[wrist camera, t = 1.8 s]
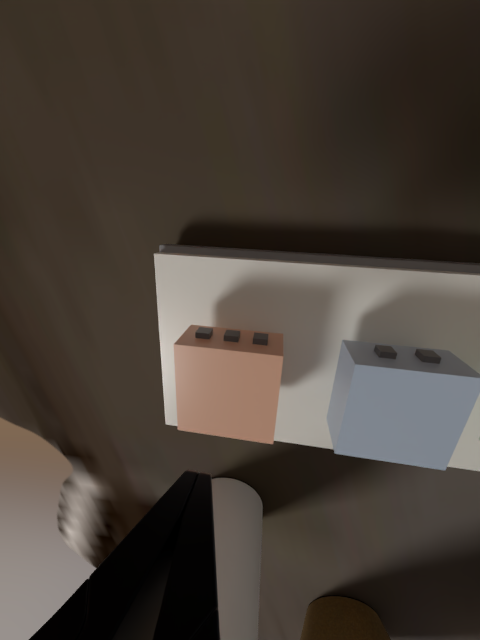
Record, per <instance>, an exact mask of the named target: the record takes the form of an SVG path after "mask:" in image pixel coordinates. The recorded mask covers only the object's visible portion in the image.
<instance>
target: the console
mask: <svg viewBox="0 0 480 640" xmlns="http://www.w3.org/2000/svg"><path fill="white" fill-rule="evenodd" d="M159 248H160V252H159V253H155V254H154V261H155V276H156V290H157V305H158V319H159V334H160V348H161V363H162V378H163V392H164V407H165V421H166V424H167V425H174V426H178V424H177V404H176V383H175V363H174V343H175V342H176V341H177V340H178V339H179V338H180V337H181V335H182V334H183V333H184V332H185V331H186V330H187V329H188V327H189V326H190V325H200V326H210V327H220V328H230V329H240V330H250V331H260V332H270V333H280V334H283V355H284V357H283V365H282V373H281V382H280V390H279V399H278V407H277V416H276V424H275V432H274V441H281V442H288V443H294V444H301V445H308V446H314V447H321V448H328V449H333V445H332V440H331V436H330V432H329V427H328V423H327V419H326V418H327V413H328V408H329V403H330V398H331V393H332V388H333V383H334V379H335V374H336V369H337V364H338V359H339V354H340V349H341V344H342V340H350V341H360V342H370V343H380V344H390V345H400V346H410V347H420V348H430V349H440V350H449V351H450V352H451V353H453V354H454V355H455V356H457V357H458V358H459V359H461V360H462V361H463V362H465V363H466V364H467V365H469V366H470V367H471V368H472V369H474V370H475V371H476V372H478V373H479V374H480V263H466V262H450V261H434V260H418V259H401V258H385V257H369V256H353V255H337V254H321V253H305V252H289V251H273V250H257V249H241V248H225V247H208V246H192V245H176V244H163V245H159ZM479 437H480V393H479V396H478V398H477V400H476V402H475V405H474V407H473V409H472V411H471V414H470V416H469V418H468V420H467V423H466V425H465V427H464V429H463V432H462V434H461V436H460V438H459V441H458V443H457V445H456V447H455V450H454V452H453V454H452V456H451V459H450V461H449V463H448V465H447V466H448V467H455V468H461V469H468V470H475V471H480V440H479Z"/></svg>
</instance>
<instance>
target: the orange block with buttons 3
mask: <svg viewBox="0 0 480 640" xmlns="http://www.w3.org/2000/svg"><path fill="white" fill-rule="evenodd" d="M283 357H284V355H283V334H280V333H270V332H260V331H250V330H240V329H230V328H220V327H210V326H200V325H190V326H189V327H188V329H187V330H186V331H185V332H184V333H183V334H182V335H181V337H180V338H179V339H178V340H177V341H176V342H175V343H174V363H175V383H176V404H177V424H178V430H182V431H188V432H195V433H202V434H208V435H215V436H221V437H228V438H235V439H241V440H248V441H254V442H261V443H268V444H273V441H274V432H275V424H276V416H277V407H278V399H279V390H280V382H281V373H282V365H283Z"/></svg>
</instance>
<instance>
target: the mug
mask: <svg viewBox="0 0 480 640" xmlns="http://www.w3.org/2000/svg"><path fill="white" fill-rule="evenodd" d="M212 494H213V514H214V533H215V553H216V572H217V592H218V611H219V628H220V640H258V619H259V595H260V571H261V549H262V518H263V505H262V501H261V498H260V497H259V495H258V494H257V492H256V491H255V490H254V489H253V488H252V487H250V486H249V485H247V484H246V483H244V482H241V481H239V480H236V479H232V478H215V479H212Z"/></svg>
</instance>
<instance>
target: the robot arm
mask: <svg viewBox="0 0 480 640" xmlns="http://www.w3.org/2000/svg"><path fill="white" fill-rule="evenodd" d="M29 640H220V628H219V611H218V592H217V572H216V553H215V533H214V514H213V494H212V476H211V474H210V473H205V472H200V473H199V472H198V471H193V470H186V471H185V472H184V473H183V474H182V475H181V476H180V477H179V479H178V480H177V481H176V482H175V483H174V484H173V485H172V486H171V487H170V488H169V490H168V491H167V492H166V493H165V494H164V495H163V496H162V497H161V498H160V499H159V501H158V502H157V503H156V504H155V505H154V506H153V507H152V508H151V509H150V510H149V512H148V513H147V514H146V515H145V516H144V517H143V518H142V519H141V520H140V521H139V523H138V524H137V525H136V526H135V527H134V528H133V529H132V530H131V531H130V532H129V534H128V535H127V536H126V537H125V538H124V539H123V540H122V541H121V542H120V543H119V545H118V546H117V547H116V548H115V549H114V550H113V551H112V552H111V553H110V554H109V556H108V557H107V558H106V559H105V560H104V561H103V562H102V563H101V564H100V565H99V567H98V568H97V569H96V570H95V571H94V572H93V573H92V574H91V576H90V578H89V579H87V580H86V581H85V582H84V583H83V584H82V585H81V586H80V587H79V588H78V590H77V591H76V592H75V593H74V594H73V595H72V596H71V597H70V598H69V599H68V600H67V601H66V602H65V604H64V605H63V606H62V607H61V608H60V609H59V610H58V611H57V612H56V613H55V614H54V615H53V616H52V618H50V619H49V620H48V621H47V622H46V623H45V624H44V625H43V626H42V627H41V628H40V629H39V630H38V631H37V632H36V633H35V634H34V635H33V636H32V637H31V638H30V639H29Z"/></svg>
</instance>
